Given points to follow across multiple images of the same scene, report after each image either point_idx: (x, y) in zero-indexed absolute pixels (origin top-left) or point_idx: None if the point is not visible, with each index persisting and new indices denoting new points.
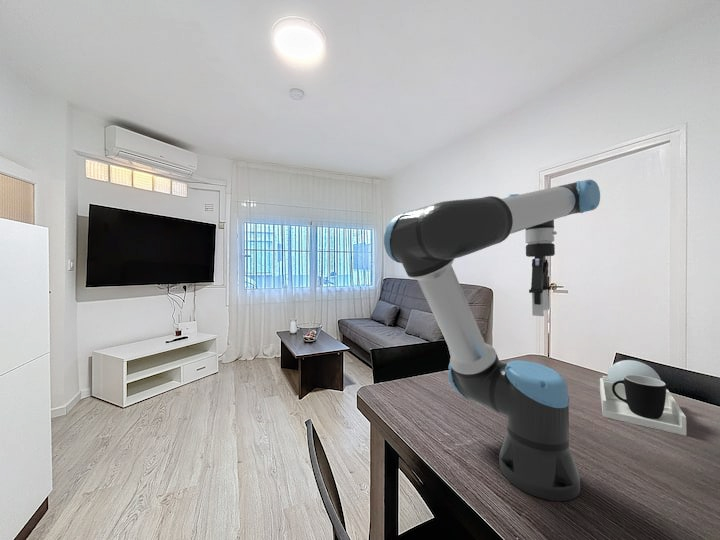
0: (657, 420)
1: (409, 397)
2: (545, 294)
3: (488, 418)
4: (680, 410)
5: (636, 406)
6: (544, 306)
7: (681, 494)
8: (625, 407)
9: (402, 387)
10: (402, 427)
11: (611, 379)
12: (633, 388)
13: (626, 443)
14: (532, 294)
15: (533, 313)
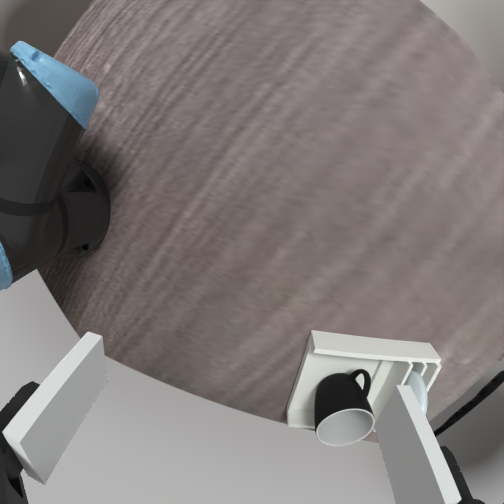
0: (314, 393)
1: None
2: (406, 501)
3: (197, 118)
4: (312, 427)
5: (323, 386)
6: (388, 428)
7: (126, 349)
8: (353, 368)
9: None
10: (101, 6)
11: (412, 379)
12: (327, 406)
13: (219, 337)
14: (9, 425)
15: (82, 343)
